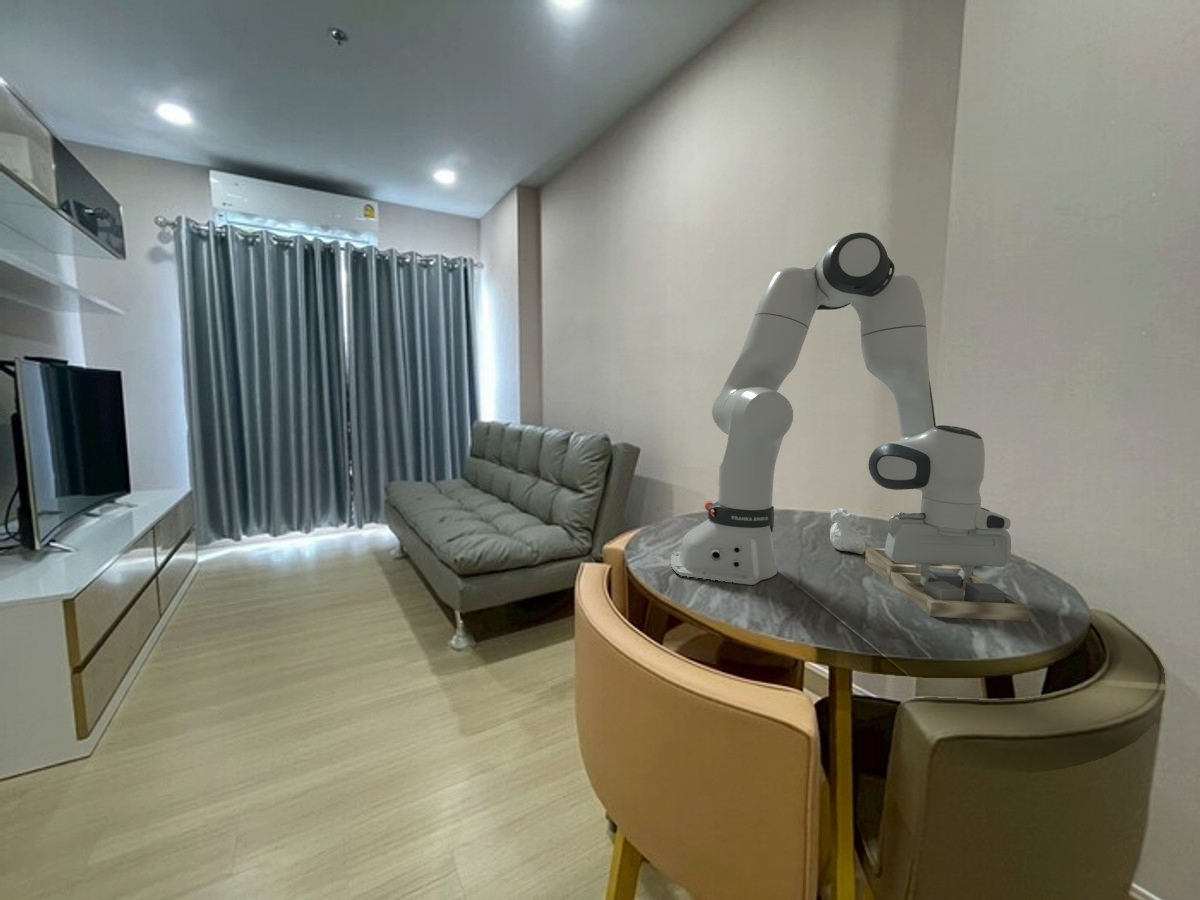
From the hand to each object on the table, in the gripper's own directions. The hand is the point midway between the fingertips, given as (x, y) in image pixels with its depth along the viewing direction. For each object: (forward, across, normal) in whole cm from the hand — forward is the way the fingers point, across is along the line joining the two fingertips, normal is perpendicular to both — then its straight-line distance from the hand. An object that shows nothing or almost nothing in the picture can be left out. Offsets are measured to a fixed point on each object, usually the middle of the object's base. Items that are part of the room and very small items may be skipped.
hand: (942, 585), depth 92 cm
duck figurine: (+2, -8, +26) cm, 27 cm away
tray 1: (+2, 0, +10) cm, 10 cm away
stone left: (+1, -4, -7) cm, 8 cm away
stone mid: (+1, 0, 0) cm, 1 cm away
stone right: (+1, +3, -7) cm, 8 cm away
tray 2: (+2, 0, -4) cm, 4 cm away
